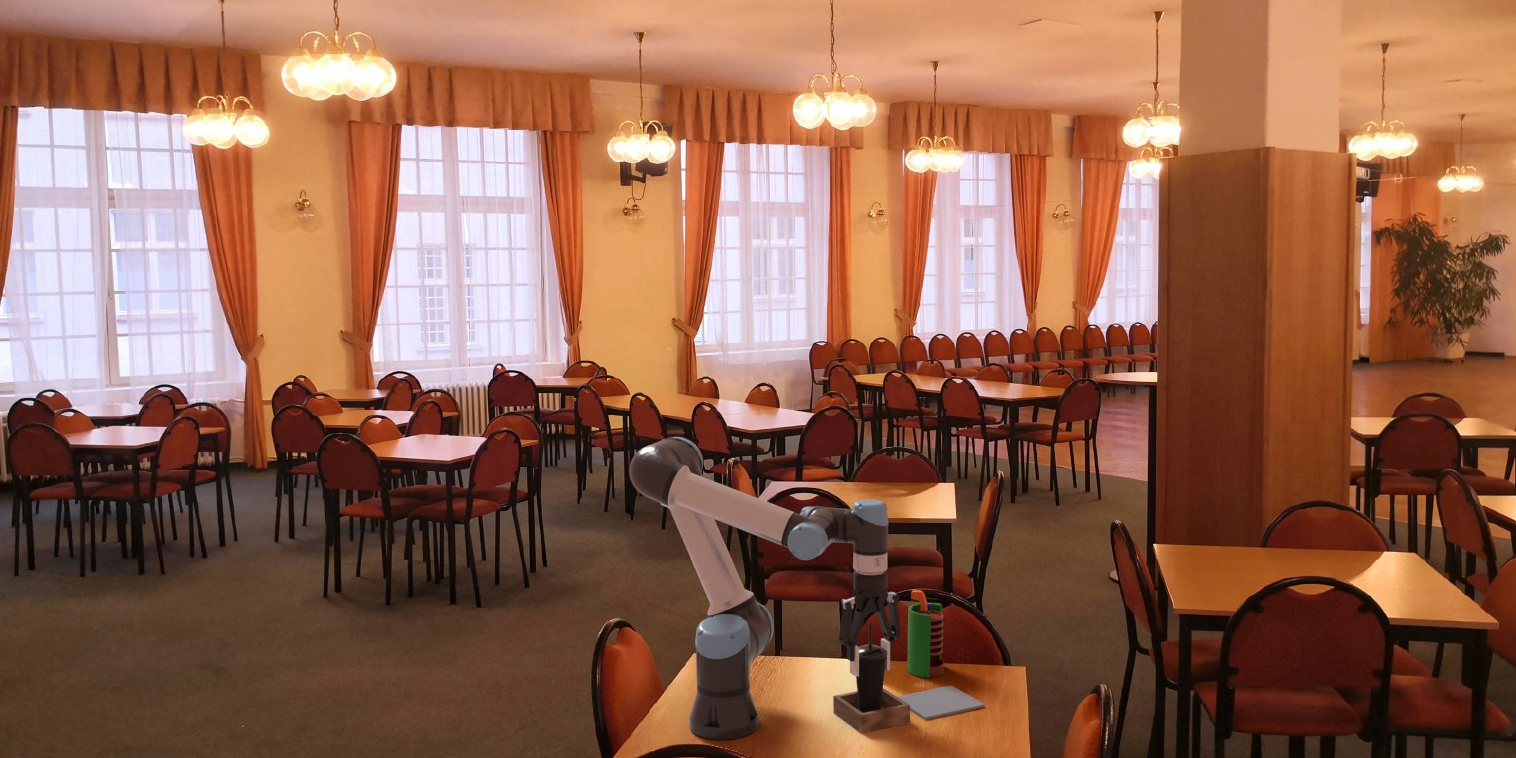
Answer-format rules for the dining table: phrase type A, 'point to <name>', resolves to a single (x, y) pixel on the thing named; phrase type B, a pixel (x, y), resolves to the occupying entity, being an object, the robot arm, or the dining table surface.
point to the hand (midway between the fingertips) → (869, 671)
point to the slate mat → (940, 702)
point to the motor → (925, 637)
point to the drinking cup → (870, 675)
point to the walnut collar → (871, 712)
